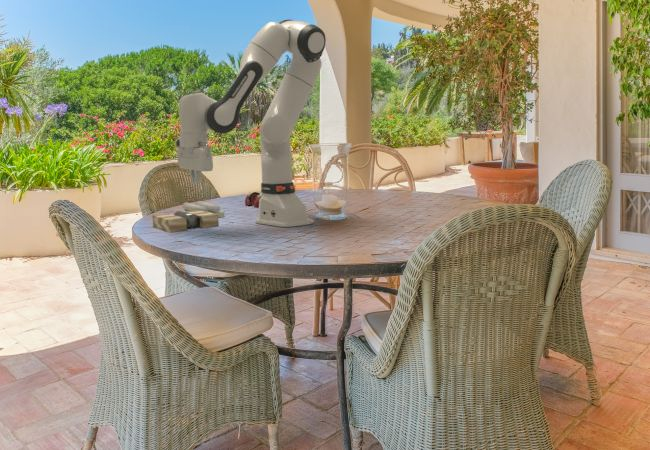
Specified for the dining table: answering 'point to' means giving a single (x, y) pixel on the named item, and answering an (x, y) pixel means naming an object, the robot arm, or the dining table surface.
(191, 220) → the axle
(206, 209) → the plate with parallel rods
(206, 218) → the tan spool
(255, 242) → the dining table surface
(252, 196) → the teeth model
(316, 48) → the robot arm
